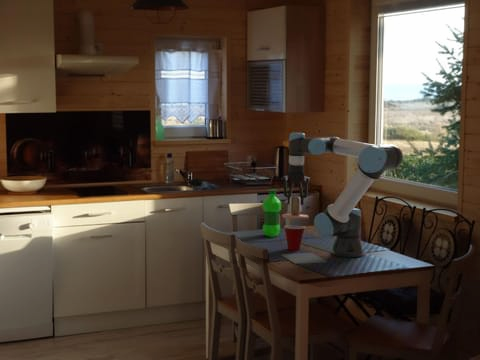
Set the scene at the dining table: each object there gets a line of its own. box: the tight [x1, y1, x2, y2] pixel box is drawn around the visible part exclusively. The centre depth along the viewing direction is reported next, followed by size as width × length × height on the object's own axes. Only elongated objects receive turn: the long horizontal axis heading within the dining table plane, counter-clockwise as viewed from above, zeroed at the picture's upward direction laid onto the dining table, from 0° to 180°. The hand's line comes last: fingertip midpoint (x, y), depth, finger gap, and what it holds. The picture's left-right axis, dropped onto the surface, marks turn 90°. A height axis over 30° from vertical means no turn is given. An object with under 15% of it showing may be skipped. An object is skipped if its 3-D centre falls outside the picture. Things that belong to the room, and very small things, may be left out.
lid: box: [281, 196, 309, 220], centre depth 383 cm, size 13×13×10 cm
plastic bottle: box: [262, 189, 282, 238], centre depth 415 cm, size 10×10×25 cm
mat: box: [280, 252, 328, 265], centre depth 366 cm, size 18×16×1 cm
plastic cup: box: [283, 224, 306, 252], centre depth 385 cm, size 11×11×12 cm
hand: (295, 211), depth 383 cm, fingers closed on lid, 4 cm apart
